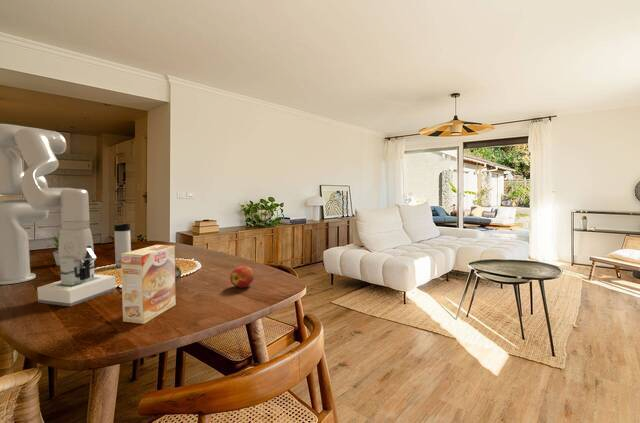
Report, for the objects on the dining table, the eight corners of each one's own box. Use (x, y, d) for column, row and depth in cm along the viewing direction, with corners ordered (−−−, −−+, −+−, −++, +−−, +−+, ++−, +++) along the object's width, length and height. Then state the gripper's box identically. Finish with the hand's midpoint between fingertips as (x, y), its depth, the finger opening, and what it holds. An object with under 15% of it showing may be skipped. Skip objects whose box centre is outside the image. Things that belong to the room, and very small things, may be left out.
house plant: (32, 267, 146) (29, 231, 145) (61, 260, 160) (59, 227, 159) (58, 268, 144) (56, 232, 143) (86, 261, 158) (84, 228, 156)
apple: (226, 288, 121) (226, 267, 121) (242, 282, 129) (242, 262, 128) (243, 291, 118) (243, 270, 117) (258, 285, 125) (258, 265, 124)
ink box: (72, 293, 106) (70, 258, 105) (60, 292, 107) (58, 257, 106) (95, 285, 115) (94, 252, 114) (84, 284, 116) (82, 251, 115)
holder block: (38, 302, 104) (37, 287, 104) (87, 286, 121) (86, 273, 120) (70, 306, 101) (69, 290, 101) (116, 289, 118) (115, 276, 117)
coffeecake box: (144, 324, 90) (142, 255, 88) (121, 322, 91) (119, 253, 89) (177, 304, 104) (175, 245, 103) (157, 303, 105) (155, 244, 104)
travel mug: (120, 268, 147) (118, 224, 145) (113, 266, 150) (111, 223, 148) (134, 265, 152) (133, 223, 150) (126, 263, 155) (125, 222, 154)
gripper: (44, 225, 107) (47, 279, 109) (86, 228, 103) (88, 283, 105) (66, 223, 115) (69, 273, 116) (106, 225, 111) (108, 277, 112)
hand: (78, 277), depth 111 cm, fingers closed on ink box, 5 cm apart
